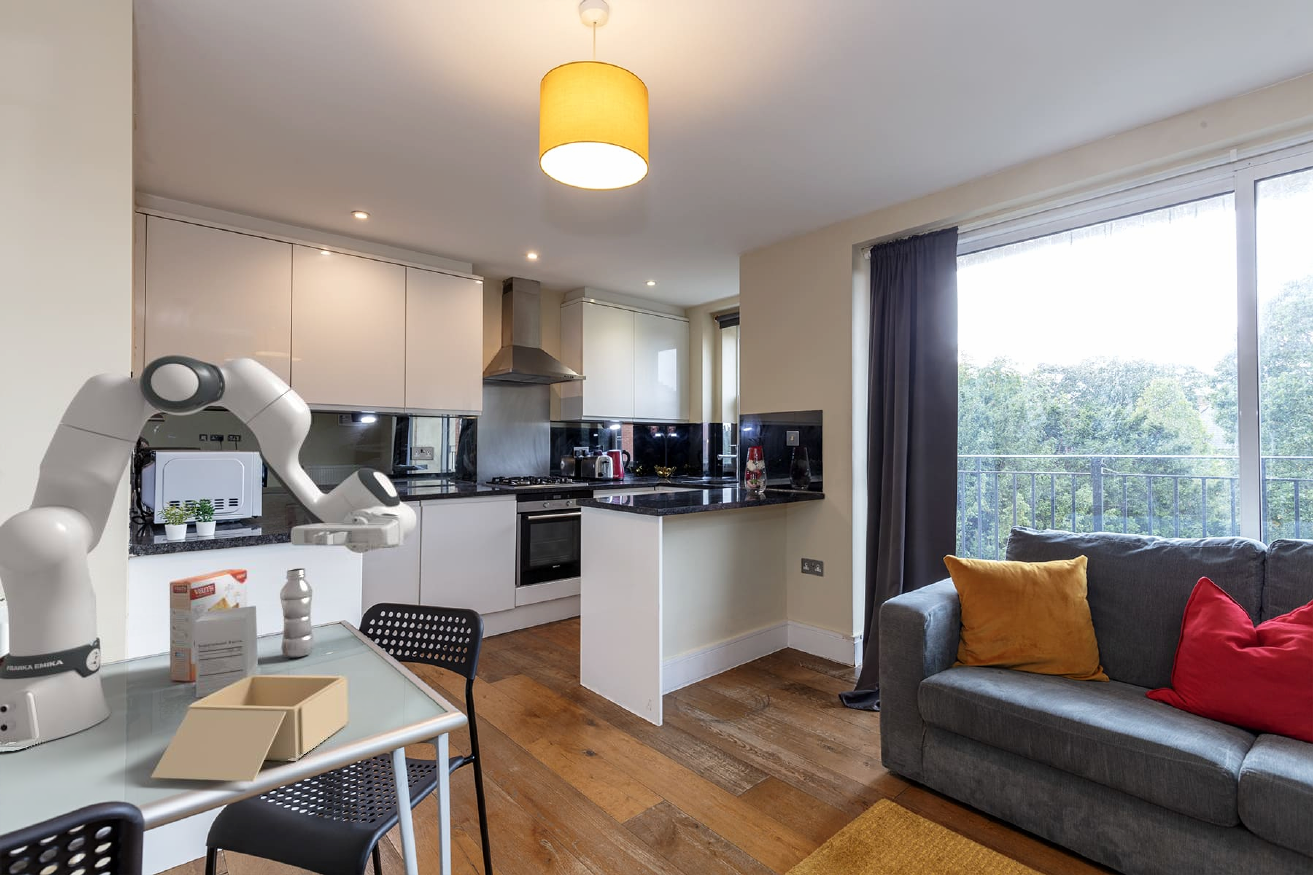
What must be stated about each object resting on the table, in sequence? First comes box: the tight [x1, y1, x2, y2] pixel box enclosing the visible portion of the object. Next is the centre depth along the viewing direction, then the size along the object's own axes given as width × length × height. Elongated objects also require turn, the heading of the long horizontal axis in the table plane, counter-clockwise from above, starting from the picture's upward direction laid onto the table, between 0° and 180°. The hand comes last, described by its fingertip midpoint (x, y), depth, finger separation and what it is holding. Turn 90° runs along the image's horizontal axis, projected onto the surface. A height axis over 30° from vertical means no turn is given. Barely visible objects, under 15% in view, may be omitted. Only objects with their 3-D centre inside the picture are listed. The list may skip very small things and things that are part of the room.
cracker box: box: [169, 568, 248, 683], centre depth 135 cm, size 14×6×21 cm, turn 168°
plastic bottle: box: [279, 567, 315, 659], centre depth 142 cm, size 6×7×20 cm
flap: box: [150, 709, 286, 782], centre depth 91 cm, size 16×1×10 cm
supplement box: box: [194, 605, 259, 699], centre depth 125 cm, size 9×9×15 cm
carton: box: [187, 674, 349, 760], centre depth 101 cm, size 19×14×8 cm
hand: (320, 540), depth 114 cm, fingers closed
